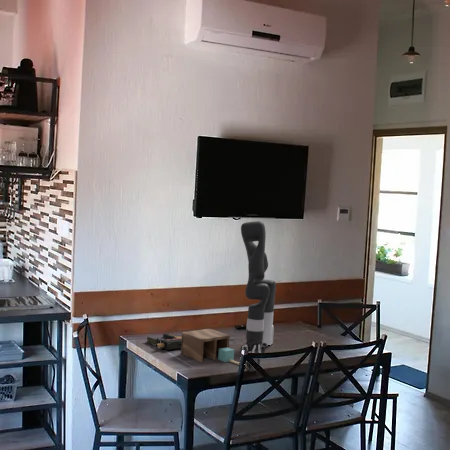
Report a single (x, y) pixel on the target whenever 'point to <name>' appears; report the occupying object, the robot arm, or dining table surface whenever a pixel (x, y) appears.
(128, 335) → the dining table surface
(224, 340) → the shelf
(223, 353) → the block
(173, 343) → the submachine gun
